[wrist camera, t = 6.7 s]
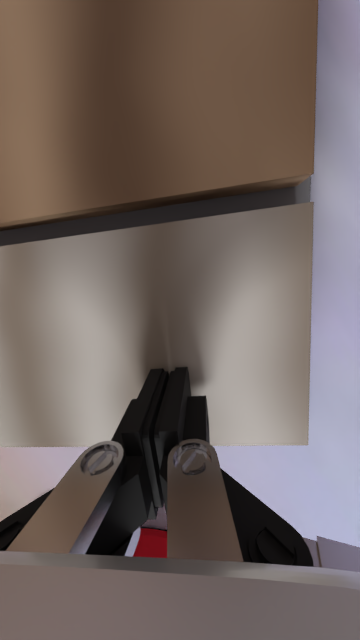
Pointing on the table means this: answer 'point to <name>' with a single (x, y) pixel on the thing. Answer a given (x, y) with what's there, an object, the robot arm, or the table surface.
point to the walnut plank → (151, 103)
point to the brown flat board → (161, 214)
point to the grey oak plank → (159, 327)
